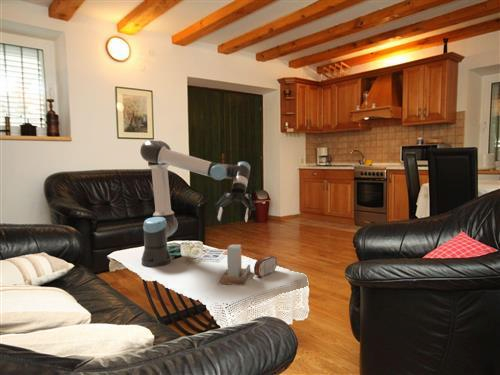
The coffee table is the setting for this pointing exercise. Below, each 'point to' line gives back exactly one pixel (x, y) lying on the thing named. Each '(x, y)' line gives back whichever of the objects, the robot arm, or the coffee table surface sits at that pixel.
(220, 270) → the coffee table surface
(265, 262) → the tin
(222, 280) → the shelf board
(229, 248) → the carton
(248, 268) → the price rail
